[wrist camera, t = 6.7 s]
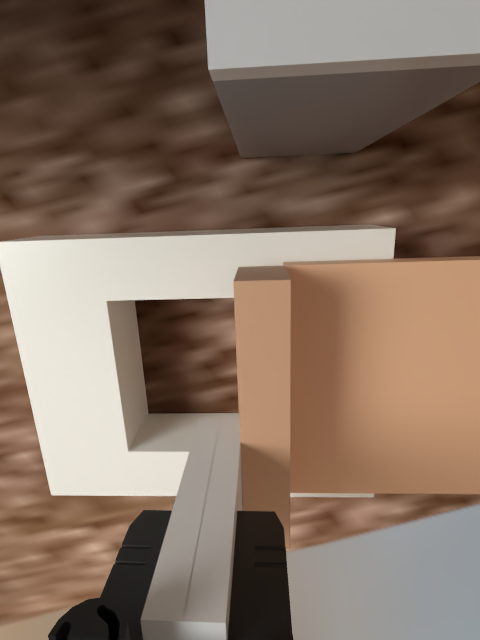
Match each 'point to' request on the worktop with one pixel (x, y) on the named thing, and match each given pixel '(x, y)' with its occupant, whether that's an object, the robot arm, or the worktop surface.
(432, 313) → the shutter
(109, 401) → the socket housing
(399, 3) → the plug
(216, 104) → the worktop surface
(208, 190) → the worktop surface
